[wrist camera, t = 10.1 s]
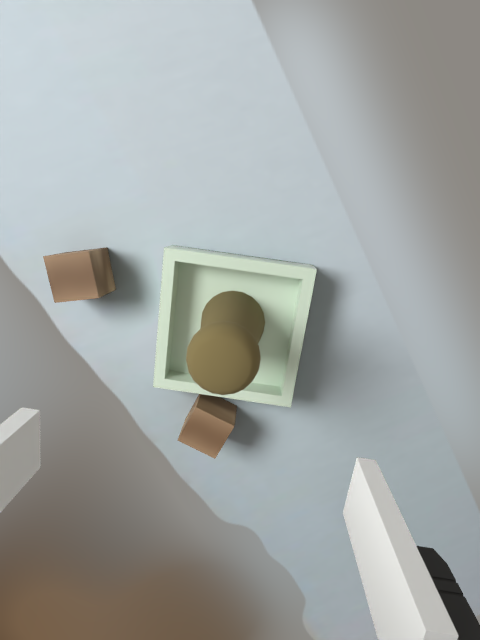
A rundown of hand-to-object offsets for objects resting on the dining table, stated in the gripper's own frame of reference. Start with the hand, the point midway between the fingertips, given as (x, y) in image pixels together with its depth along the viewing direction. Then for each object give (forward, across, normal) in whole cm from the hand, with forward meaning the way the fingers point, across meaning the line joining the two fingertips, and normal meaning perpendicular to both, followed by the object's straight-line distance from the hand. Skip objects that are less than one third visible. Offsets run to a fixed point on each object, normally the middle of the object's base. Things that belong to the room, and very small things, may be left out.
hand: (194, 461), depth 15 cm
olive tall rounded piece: (+21, 0, 0) cm, 21 cm away
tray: (+22, 0, 0) cm, 22 cm away
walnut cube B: (+22, -1, -10) cm, 24 cm away
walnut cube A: (+22, -14, +3) cm, 26 cm away
